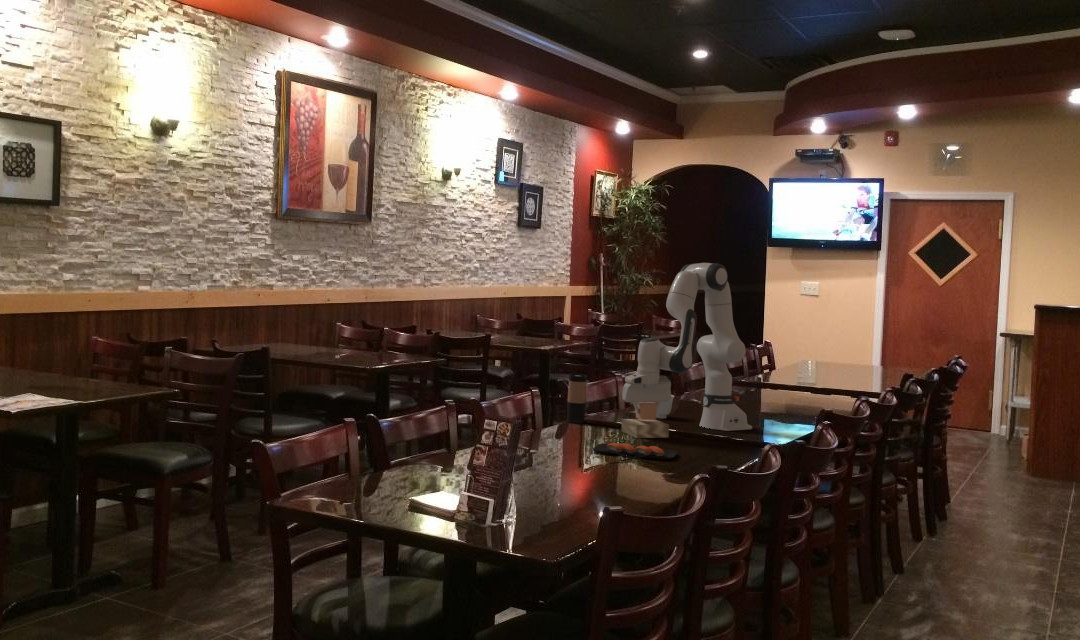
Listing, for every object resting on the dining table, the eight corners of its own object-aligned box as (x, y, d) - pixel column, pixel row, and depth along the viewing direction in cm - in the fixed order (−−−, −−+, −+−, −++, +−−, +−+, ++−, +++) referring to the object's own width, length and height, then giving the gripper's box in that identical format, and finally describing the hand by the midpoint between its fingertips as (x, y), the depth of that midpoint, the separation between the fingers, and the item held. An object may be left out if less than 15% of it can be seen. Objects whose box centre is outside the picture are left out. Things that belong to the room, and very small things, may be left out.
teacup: (654, 413, 434) (656, 391, 433) (679, 418, 422) (680, 396, 422) (636, 415, 426) (637, 393, 425) (660, 420, 414) (661, 397, 414)
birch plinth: (652, 430, 387) (653, 418, 386) (668, 437, 373) (669, 424, 373) (621, 431, 382) (621, 419, 382) (636, 437, 369) (637, 425, 368)
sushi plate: (678, 456, 340) (679, 445, 339) (665, 472, 311) (666, 461, 311) (599, 448, 348) (599, 437, 347) (579, 463, 319) (580, 452, 319)
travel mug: (564, 420, 401) (566, 373, 400) (581, 420, 404) (583, 374, 402) (570, 423, 394) (572, 376, 393) (587, 423, 396) (589, 376, 395)
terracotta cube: (649, 417, 381) (650, 402, 381) (655, 419, 376) (656, 404, 375) (635, 417, 379) (636, 402, 379) (642, 419, 373) (643, 404, 373)
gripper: (667, 377, 383) (665, 411, 384) (621, 377, 376) (619, 412, 377) (674, 379, 377) (673, 414, 378) (628, 379, 370) (626, 414, 371)
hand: (645, 413), depth 377 cm, fingers closed on terracotta cube, 6 cm apart
